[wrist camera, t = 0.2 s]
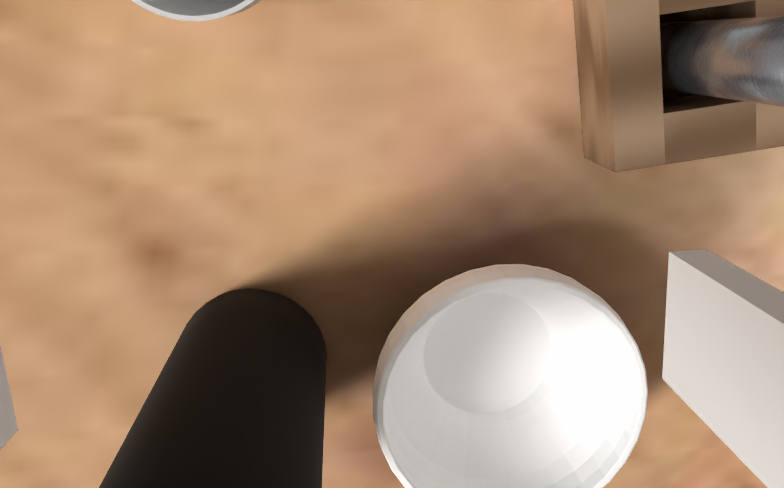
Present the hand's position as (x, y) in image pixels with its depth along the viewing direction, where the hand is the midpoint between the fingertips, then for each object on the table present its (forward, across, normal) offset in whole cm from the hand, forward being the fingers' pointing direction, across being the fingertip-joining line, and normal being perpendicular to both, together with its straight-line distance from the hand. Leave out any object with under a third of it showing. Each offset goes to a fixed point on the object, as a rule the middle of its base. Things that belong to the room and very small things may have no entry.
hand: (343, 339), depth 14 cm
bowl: (+28, +8, -13) cm, 32 cm away
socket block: (+28, +18, +4) cm, 34 cm away
